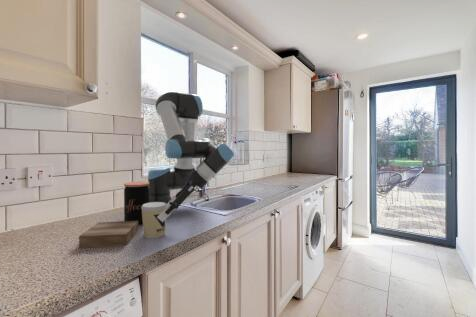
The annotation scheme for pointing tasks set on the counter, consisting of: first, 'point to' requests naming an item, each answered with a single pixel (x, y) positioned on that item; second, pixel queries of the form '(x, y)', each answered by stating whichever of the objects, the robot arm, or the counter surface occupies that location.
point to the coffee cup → (153, 219)
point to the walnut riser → (109, 234)
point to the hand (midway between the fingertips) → (163, 214)
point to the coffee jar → (135, 200)
